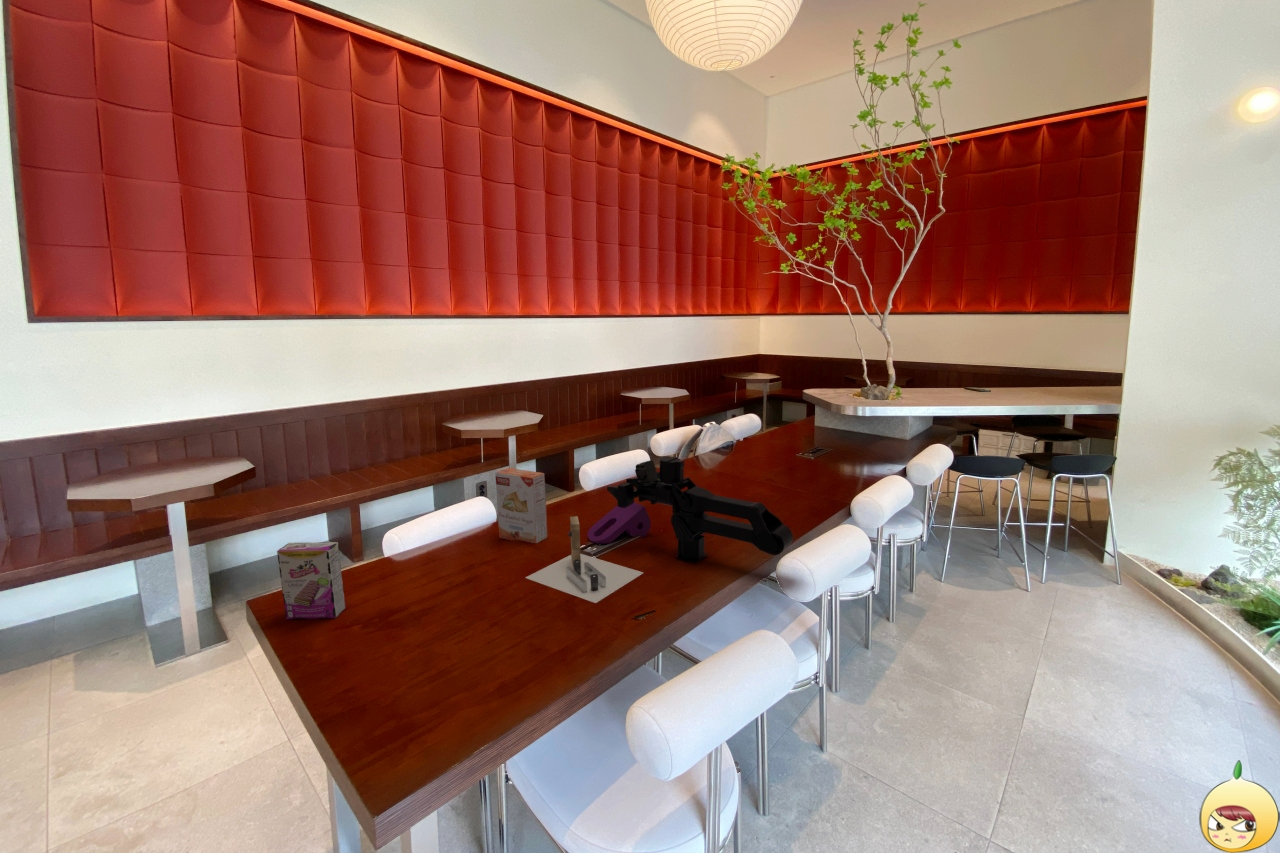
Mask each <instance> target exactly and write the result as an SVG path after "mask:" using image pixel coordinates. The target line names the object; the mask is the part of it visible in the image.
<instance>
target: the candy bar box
mask: <svg viewBox="0 0 1280 853" xmlns="http://www.w3.org/2000/svg"><path fill="white" fill-rule="evenodd" d="M339 548H340V546H339V542H338V541H331V542H330V541H329V542H321V541H320V542H288V543H286V544H285V545H284V546H282V547H281V548H279V549H278V550H277V551H276V553H277V560H278V561H277V562H278V569H279V577H280V582H281V589H282V597H283V605H284V606H283V607H284V612H285V619H286V620H305V619H306V620H307V619H308V620H309V619H311V620H312V619H336V618H338V617H339V615H340V614H341V613H342V612H343V611H344V610H345V609H346V602H345V600H346V599H345V592H344V591H345V590H344V584H343V576H342V575H343V574H342V567H341V566H342V565H341V556H340V549H339Z"/></svg>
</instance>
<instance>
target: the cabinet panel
mask: <svg viewBox="0 0 1280 853" xmlns="http://www.w3.org/2000/svg"><path fill="white" fill-rule="evenodd" d="M580 558H581V575H580V576H581V577H582V578H583V579H584V580H585V581H587V592H584V593H583V592H582V591H581V590H580V589H579V588H578V587H577V586H576V585H575V584H574V583H573V582H572V581H571V580H569V579H568V578H567V577H566V567H569V566H570V567H571V568H572V569H573V565H572V557H571V554H569V555H568V556H565V557H564V558H561V559H559V560H558V561H556V562H554V563H552V564H549V565H547V566H545V567H543V568H541V569H539V570H537V571H536V572H534V573H531V574H530V575H528V576H525V579H527V580H530V581H533V582H535V583H539V584H541V585H544V586H546V587H549V588H551V589H552V588H553V589H554V590H558V591H560V592H563V593H565V594H569V595H572V596H575V597H578V598H580V599H583V600H586V601H588V602H591V603H594V604H597V603H599V602H601V601H602V600H603V599H605V598H606V597H608V596H610V595H611V594H612V593H615V592H616V591H618V590H619V589H620V588H623V586H625V585H627V584H629V583H630V582H632V581H633V580H635V579H636V578H638V577H640V576H641V575H643V574H644V572H643V571H639V570H635V569H633V568H629V567H627V566H624V565H619V564H616V563H613V562H609V561H606V560H602V559H599V558H596V557H593V556H590V555H586V554H583V553H580ZM586 562H589V563H590V564H591V565H592V566H593V567H595V568H596V569H597V570H598V571H599V572H601V573H602V574H603V575H604V576H605V577H606V587H601V586H600V585H599V584H598V590H597V591H591V580H590V576H589V575H587V574H586V573H585V569H584V563H586ZM573 570H574V569H573Z"/></svg>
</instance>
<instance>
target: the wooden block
mask: <svg viewBox="0 0 1280 853" xmlns="http://www.w3.org/2000/svg"><path fill="white" fill-rule="evenodd" d="M569 520H570V521H569V523H570V524H569V526H570V528H569V529H570V531H568V534H567V535H568V536H567V537H570V550H571V554H570V555H571V557H572V565H573V569H574V560H581V558H580V554H581V540H580V539H581V534H580V532H581V531H580V522H579V517H578V516H577V515H575V516H569Z"/></svg>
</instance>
